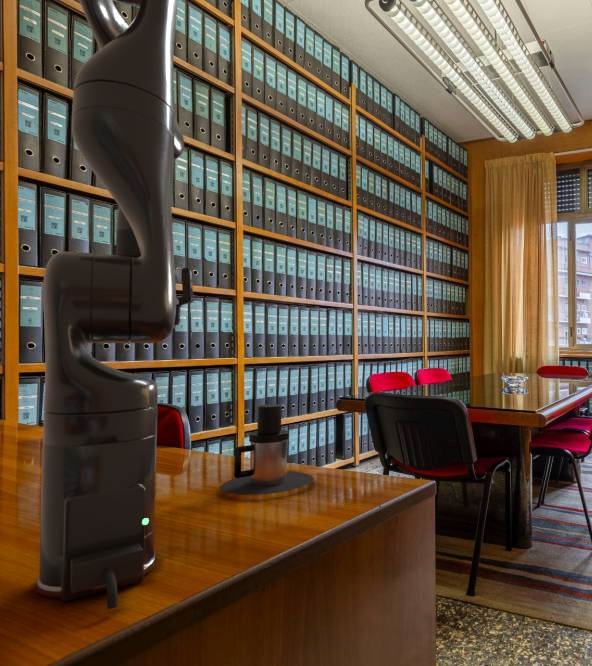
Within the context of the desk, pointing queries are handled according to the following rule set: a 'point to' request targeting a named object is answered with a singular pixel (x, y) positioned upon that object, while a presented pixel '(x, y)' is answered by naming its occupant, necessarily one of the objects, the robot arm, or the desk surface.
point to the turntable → (245, 488)
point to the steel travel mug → (265, 450)
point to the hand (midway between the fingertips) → (142, 327)
